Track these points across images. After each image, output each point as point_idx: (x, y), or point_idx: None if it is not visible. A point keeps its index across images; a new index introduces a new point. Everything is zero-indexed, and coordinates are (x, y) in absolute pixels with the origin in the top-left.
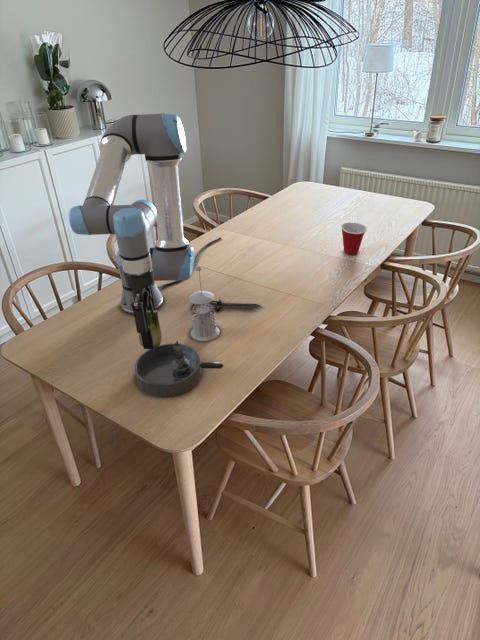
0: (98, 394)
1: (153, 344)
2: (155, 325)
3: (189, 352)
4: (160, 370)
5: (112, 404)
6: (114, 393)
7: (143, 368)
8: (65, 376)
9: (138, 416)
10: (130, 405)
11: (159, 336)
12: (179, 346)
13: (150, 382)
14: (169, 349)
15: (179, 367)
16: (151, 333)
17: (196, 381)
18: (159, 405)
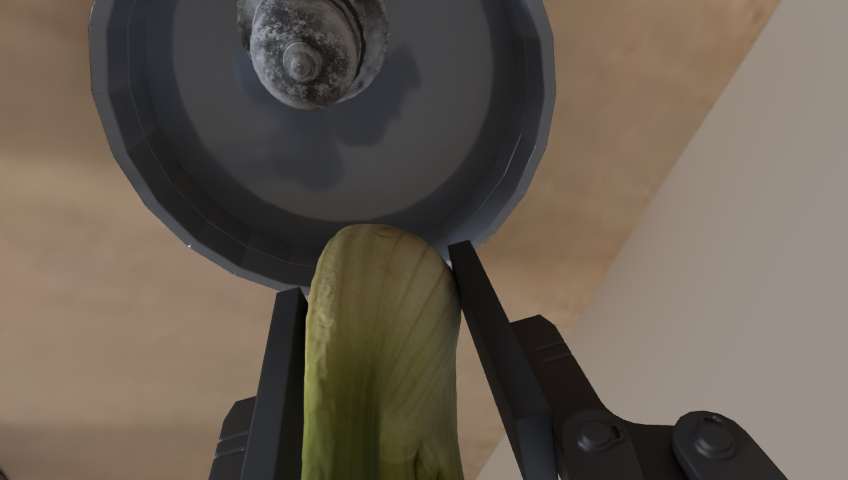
0: (535, 313)
1: (441, 263)
2: (376, 400)
3: (125, 36)
4: (338, 159)
5: (583, 243)
6: (523, 268)
7: None
8: (467, 437)
9: (650, 107)
10: (586, 175)
11: (364, 268)
12: (325, 22)
13: (538, 139)
14: (174, 188)
15: (366, 12)
16: (428, 353)
17: None
18: (579, 40)
